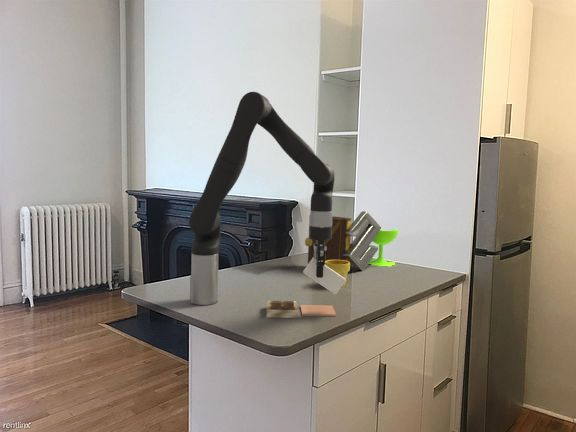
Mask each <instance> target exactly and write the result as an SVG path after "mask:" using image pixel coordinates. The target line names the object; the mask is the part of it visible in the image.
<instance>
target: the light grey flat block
mask: <svg viewBox="0 0 576 432" xmlns="http://www.w3.org/2000/svg"><path fill="white" fill-rule="evenodd" d="M319 262H320V261H319ZM316 267H317V266H316V259H315V258H314V257H313V258H312V259H311V261H310V262H309V264H308V263H307V265H306V266H305V268H304V269H303V271H302V273H303V274H304V275H306V276H307V277H309V278H310V279H312V280H313V281H314V282H316V283H317V284H319V285H321V286H322V287H323V288H325V289H327V290H328V291H329V292H331V293H332V294H334V295H335V296H336V295H337V294H338V292H339V291H340V290H341V288H343V287H342V285H343V284H344V283H345V281H346V282H347V279H345V278H344V277H342V276H341V275H339V274H338V273H336V272H335V271H333V270H332V269H330V268H329V267H327V266H326V265H324V266H323V277H322V278H317V277H316ZM345 284H346V283H345Z"/></svg>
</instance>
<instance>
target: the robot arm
mask: <svg viewBox="0 0 576 432" xmlns="http://www.w3.org/2000/svg"><path fill="white" fill-rule="evenodd" d="M257 125H258V126H260V127H261V128H262V129H264V130H265V131H266V132H268V133H269V135H271V136H272V137H273V139H274V140H275V141H276V143H277V144H278V145H279V146H280V148H281V149H282V150H283V151H284V153H286V155H287V156H288V157H289V158H290V159H291V160H292V161H293V162H294V163H295V164H297V166H298V167H299V168H300V170H302V172H303V173H304V174H305V176H306V177H307V178H308V179H309V180H310V181H311V182H312V183H313V192H312V194H311V196H310V207H309V208H310V212H309V213H310V214H309V216H310V218H308V221H309V222H308V238H310V239H313V240H316V244H314V257H315V259H316V266H317V267H316V277H317V278H322V277H323V266H324V265H325V259H326V250H327V245H326V244H325V242H324V241H325V240H330V239H331V238H332V216H333V192H334V188H335V186H334V185H335V177H336V176H335V171H334V168H333V167H332V166H331V164H328V163H324V161H323V160H322V159H321V158H319V156H317V154H315V151H314V149H313V148H312V147H311V146H310V145H309V144H308V143H307V142H306V141H305V140H304V139H303V138H302V137H301V136H300V135H299V134H298V133H296V131H294V130H293V129H292V128H291V127H290V126H289V125H288V124H287V123H286V122H285V121H284V120H283V119H282V118H281V116H280V115H279V114H278V112H276V110H275V108H274V107H273V105H272V104H271V103H270V101H269V99H268V98H267V97H266V96H264V95H262V94H261V93H259V92H257V91H249V92H247V93H245V94H244V95H243V96H242V97H241V99H240V100H239V103H238V105H237V109H236V113H235V115H234V119H233V122H232V124H231V127H230V129H229V132H227V133H228V134H227V136H226V138H225V140H224V142H223V145H222V146H221V148H220V151H219V153H218V155H217V157H216V160H215V162H214V164H213V166H212V170H211V171H210V174H209V176H208V179H207V181H206V185H205V188H204V189H203V192H202V194H201V196H200V197H199V200H198V201H197V203H196V204H195V206H194V208H193V210H192V212H191V214H190V216H189V219H188V225H189V229H190V230H191V232H192V233H193V234H194V241H193V243H192V245H191V265H190V268H191V271H190V273H191V274H190V276H189V304H193V305H198V306H199V305H200V306H202V305H203V306H206V305H207V306H208V305H214V304H216V303H218V301H219V300H218V299H219V294H218V293H219V250H220V249H219V248H220V245H221V232H222V231H221V230H222V223H221V222H222V219H221V216H220V212H219V211H220V209H221V206H222V203H223V202H224V200H225V199H226V197H227V195H228V194H229V193H230V192H231V191H232V189H233V187H234V186H235V184H236V182H237V181H238V180H239V178H240V175H241V173H242V171H243V169H244V166H245V165H246V161H247V157H248V153H249V152H248V150H249V144H250V140H251V136H252V134H253V132H254V131H255V128H256V126H257ZM319 261H320V262H319Z"/></svg>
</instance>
